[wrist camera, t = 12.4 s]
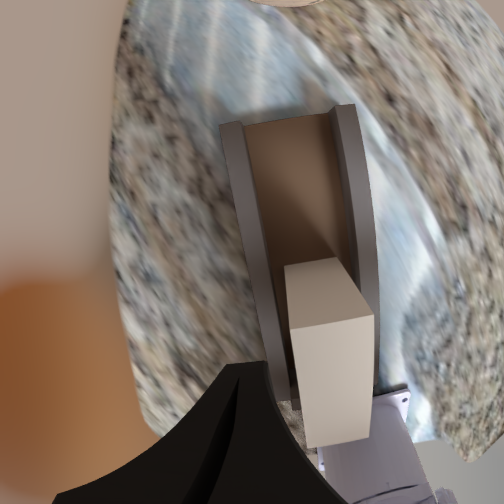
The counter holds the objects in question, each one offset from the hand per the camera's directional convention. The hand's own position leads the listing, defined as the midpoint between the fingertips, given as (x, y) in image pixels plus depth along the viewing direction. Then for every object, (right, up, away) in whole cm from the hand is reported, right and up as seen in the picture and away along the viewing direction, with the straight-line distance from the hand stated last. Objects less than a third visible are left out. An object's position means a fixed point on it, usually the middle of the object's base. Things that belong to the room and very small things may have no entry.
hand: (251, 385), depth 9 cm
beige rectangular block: (+4, 0, +8) cm, 9 cm away
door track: (+3, +4, +8) cm, 10 cm away
